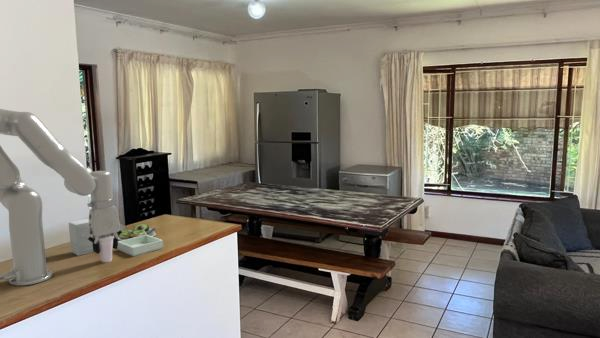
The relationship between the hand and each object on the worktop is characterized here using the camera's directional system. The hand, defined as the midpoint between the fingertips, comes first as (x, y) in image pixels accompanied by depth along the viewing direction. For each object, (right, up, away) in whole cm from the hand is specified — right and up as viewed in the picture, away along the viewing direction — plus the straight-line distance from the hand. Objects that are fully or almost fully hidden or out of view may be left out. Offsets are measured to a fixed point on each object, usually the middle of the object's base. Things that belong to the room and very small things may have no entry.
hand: (105, 250), depth 167 cm
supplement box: (-14, -3, +12) cm, 19 cm away
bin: (+8, -2, +14) cm, 16 cm away
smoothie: (0, -4, +1) cm, 4 cm away
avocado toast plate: (-1, 0, +33) cm, 33 cm away
